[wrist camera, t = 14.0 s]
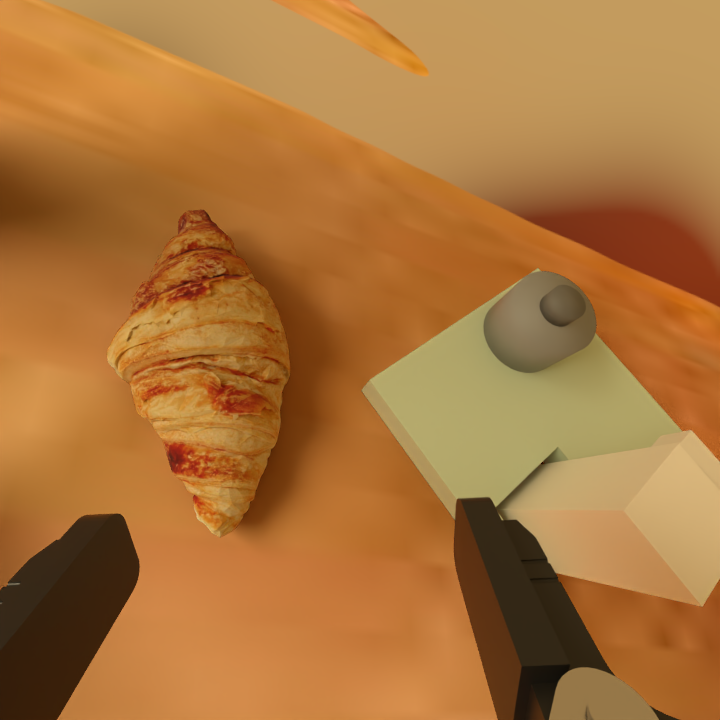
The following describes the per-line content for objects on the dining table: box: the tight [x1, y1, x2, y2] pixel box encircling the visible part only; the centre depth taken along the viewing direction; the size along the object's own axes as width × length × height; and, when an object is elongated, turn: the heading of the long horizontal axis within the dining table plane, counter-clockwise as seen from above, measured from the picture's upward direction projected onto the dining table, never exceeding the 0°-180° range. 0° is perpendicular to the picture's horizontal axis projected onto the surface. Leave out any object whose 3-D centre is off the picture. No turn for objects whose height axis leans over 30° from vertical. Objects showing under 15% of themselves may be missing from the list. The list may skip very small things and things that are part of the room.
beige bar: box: [496, 430, 720, 607], centre depth 22 cm, size 4×6×11 cm
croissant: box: [107, 210, 290, 537], centre depth 23 cm, size 21×10×8 cm, turn 13°
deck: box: [361, 268, 683, 520], centre depth 26 cm, size 17×18×8 cm
